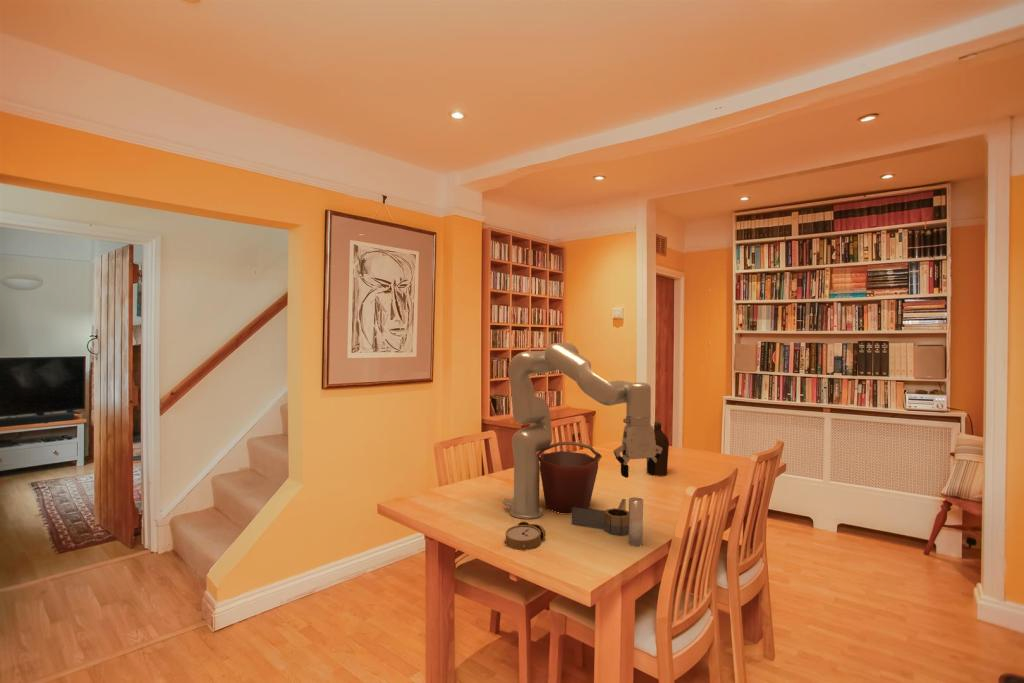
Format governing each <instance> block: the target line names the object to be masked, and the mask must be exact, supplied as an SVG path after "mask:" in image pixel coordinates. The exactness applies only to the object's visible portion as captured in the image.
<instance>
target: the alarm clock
mask: <svg viewBox="0 0 1024 683" xmlns="http://www.w3.org/2000/svg"><path fill="white" fill-rule="evenodd" d="M545 537H546V529H545V527H543V525H540V524H535V523H529V522H528V521H525V520H524V521H523V520H522V521H521V522H519V523H518V524H517V525H513V526H511V527H508V528H507V529H506V531H505V540H504V541H503V543H505V544H506V545H507V546H508V547H509V548H511V547H512V549H514V550H521V551H524V550H526V551H527V550H534V549H537V548H538V547H539V546H540V545H541V544H542V540H544V539H545Z"/></svg>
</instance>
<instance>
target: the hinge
mask: <svg viewBox="0 0 1024 683" xmlns="http://www.w3.org/2000/svg"><path fill="white" fill-rule="evenodd" d="M626 502H627V500H626V498H622V499H621V501H620V503H619V506H618V507H617V508H615V507H613V508H608V509H606V510H603V509H598V508H597V509H596V508H590V507H589V508H582V507H574V506H572V514H571V521H570V523H571V525H572V524H573V526H579V525H580V527H587V528H593V529H599V530H600V529H601V530H604V531H605V532H606V533H608V534H610V535H612V536H613V535H614V536H627V535H629V510H626V506H627V504H626Z"/></svg>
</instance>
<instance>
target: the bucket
mask: <svg viewBox="0 0 1024 683" xmlns="http://www.w3.org/2000/svg"><path fill="white" fill-rule="evenodd" d="M558 446H578V447H581V448H585V449H588V450H590V452H592V454H594V457H593V456H591V455H589V454H587V453H582V452H573V451H565V450H564V451H563V450H559V451H553V452H546V453H544V452H545V451H548V450H550V449H553V448H556V447H558ZM537 457H538V460H539V465H540V477H541V478H540V479H541V486H542V491H543V498H544V503H545V510H548V509H549V511H551V510H553V511H552V512H554V511H556V512H555V513H557V512H559V513H558V514H560V513H572V506H574V507H582V508H590V505H591V500H592V498H593V497H592V496H593V493H594V487H595V483H596V479H597V475H598V470H599V462H600V461H601V459H602V455H601V453H599V452H598V451H596V450H595V449H594V448H593V446H592V445H590V444H585V443H582V442H575V441H557V442H556V443H555V442H554V443H552V444H550V446H549V447H547V448H546V449H543V450H540V451H537Z"/></svg>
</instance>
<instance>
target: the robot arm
mask: <svg viewBox="0 0 1024 683" xmlns="http://www.w3.org/2000/svg"><path fill="white" fill-rule="evenodd" d="M591 368H592V363H591V361H590V360H589V359H588V358H586V357H584V356H583V355H580V353H579V349H578V348H577V347H576V345H574V344H572V343H569V342H554V343H551V344H549V345H548V346H547V347H546V348H545V350H528V351H527V350H526V351H523V352H519V353H517V354H516V355H514V356H513V357H512V359H511V360H510V362H509V363H508V371H507V372H508V373H507V374H508V380H509V384H510V395H511V396H510V397H511V406H512V414H513V415H512V416H513V418H514V421H515V422H516V423H517V424H520V425H527V424H529V426H527V427H523V428H520V429H518V430H516V431H515V432H514V434H513V435H512V438H511V448H512V454H513V498H512V499H509V498H503V502H502V503H503V506H505V507H509V511H508V512H509V515H510V516H512V517H514V518H518V519H525V520H530V519H537V518H541V517H542V516H543V514H544V509H543V508H542V507H540V479H541V478H540V477H541V473H540V461H539V460H538V457H537V453H538V452H539V451H540V450H543V449H546V448H547V447H549V446H550V445H552V444H551V443H552V440H553V429H552V417H551V409H550V407H549V404H548V402H547V401H546V400H545V398H543V397H541V396H535V393H534V392H535V391H534V385H533V381H532V380H531V377H530V375H537V374H547V373H551V372H555V371H559V372H561V373H562V374H564V375H565V376H567V377H568V378H570V379H572V380H573V381H574V382H575V383H576V384H577V386H578V387H579V389H580V390H581V391H582V392H583V393H584V394H586V395H587V396H588V397H589V398H591V399H593V400H594V401H595V402H597V403H600V404H601V405H603V406H611V407H612V406H615V405H620V404H626V408H625V409H626V412H625V414H626V417H625V418H623V420H622V421H623V423H624V424H625V425H624V428H623V433H622V439H621V441H622V443H621V445H620V446H618V447H617V448H615V449H614V450H613V454H614V456H615V459H616V460H617V461H618V462H619V464H620V474H621V477H624V478H625V479H627V478H629V472H630V470H629V469H630V467H629V465H628V463H629V462H630V460H643V459H647V458H648V459H649V461H648V473H649V474H648V473H647V474H648V475H650V474H651V475H650V476H653V475H655V463H656V462H657V459H658V458H659V457H660V454H661V452H662V449H663V448H662V447H660V446H658V445H656V442H655V433H654V425H651V424H652V422H651V420H652V418H651V416H652V415H651V414H652V413H651V411H652V407H651V406H652V401H651V400H652V388H651V385H650V384H649V383H647V382H629V381H625V380H613V381H608V380H606V379H604V378H602V377H601V376H599V375H598V374H596V373H595V372H594V370H592V369H591ZM621 454H622V455H621Z"/></svg>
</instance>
